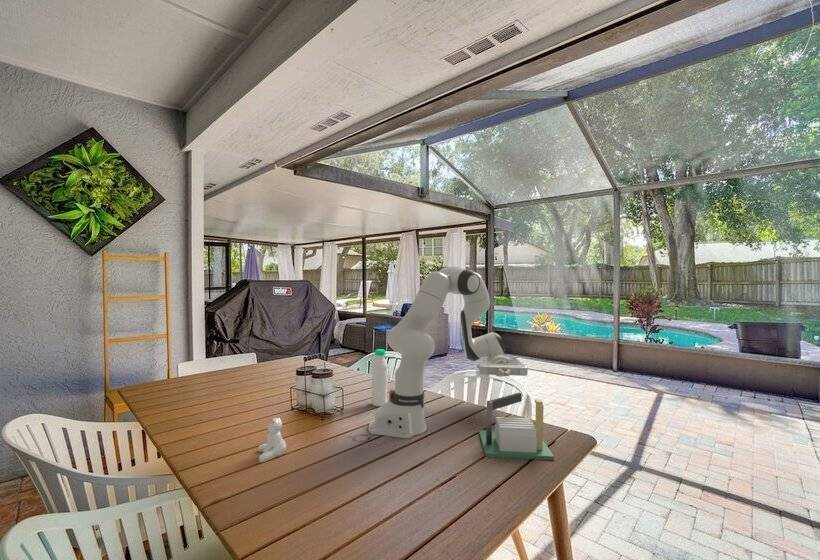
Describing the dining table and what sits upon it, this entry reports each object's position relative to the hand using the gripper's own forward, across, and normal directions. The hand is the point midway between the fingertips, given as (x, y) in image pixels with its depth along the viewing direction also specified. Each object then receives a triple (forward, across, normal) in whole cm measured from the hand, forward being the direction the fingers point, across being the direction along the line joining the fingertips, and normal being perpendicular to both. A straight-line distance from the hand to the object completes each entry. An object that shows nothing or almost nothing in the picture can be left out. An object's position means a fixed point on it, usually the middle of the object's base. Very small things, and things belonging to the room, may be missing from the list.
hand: (506, 374), depth 152 cm
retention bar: (+18, -4, +18) cm, 26 cm away
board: (+21, -1, +20) cm, 29 cm away
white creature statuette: (+35, -82, +20) cm, 91 cm away
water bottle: (-15, -54, +20) cm, 59 cm away
